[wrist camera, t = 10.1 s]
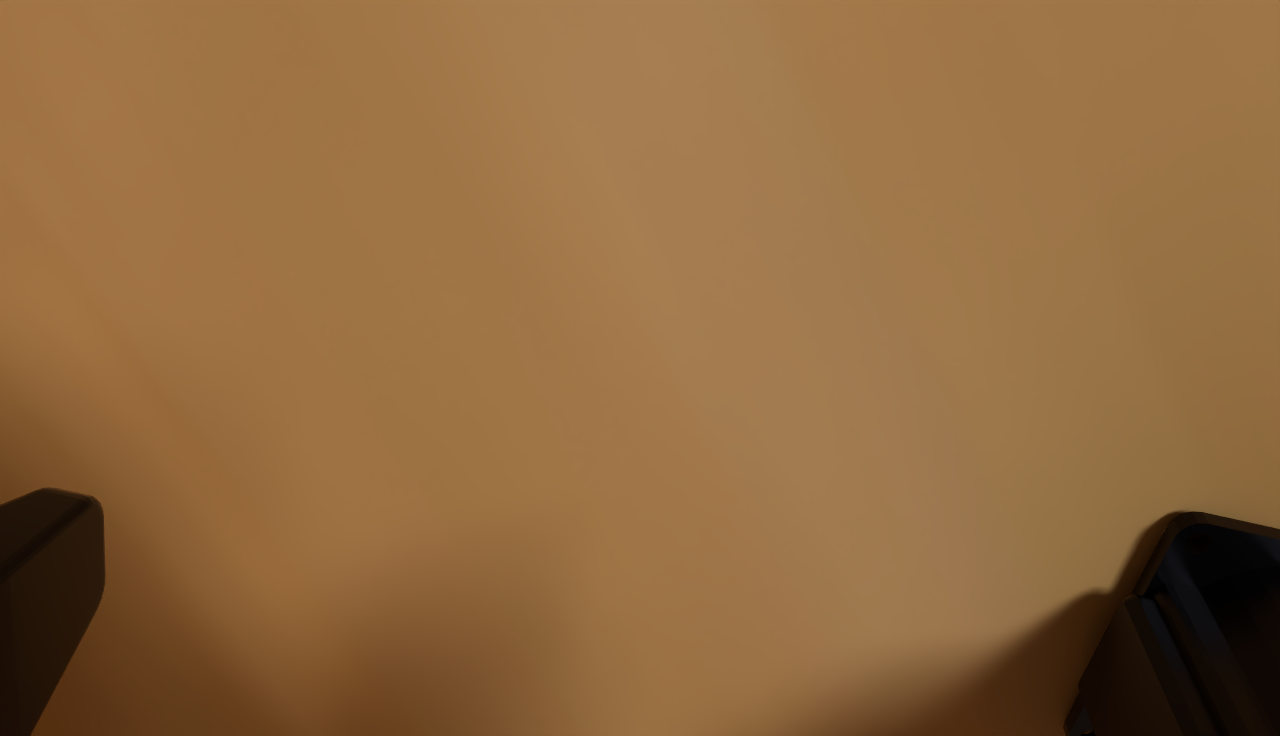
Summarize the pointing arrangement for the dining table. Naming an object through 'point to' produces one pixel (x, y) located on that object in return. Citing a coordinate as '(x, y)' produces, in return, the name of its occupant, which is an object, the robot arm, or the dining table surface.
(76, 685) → the dining table surface
